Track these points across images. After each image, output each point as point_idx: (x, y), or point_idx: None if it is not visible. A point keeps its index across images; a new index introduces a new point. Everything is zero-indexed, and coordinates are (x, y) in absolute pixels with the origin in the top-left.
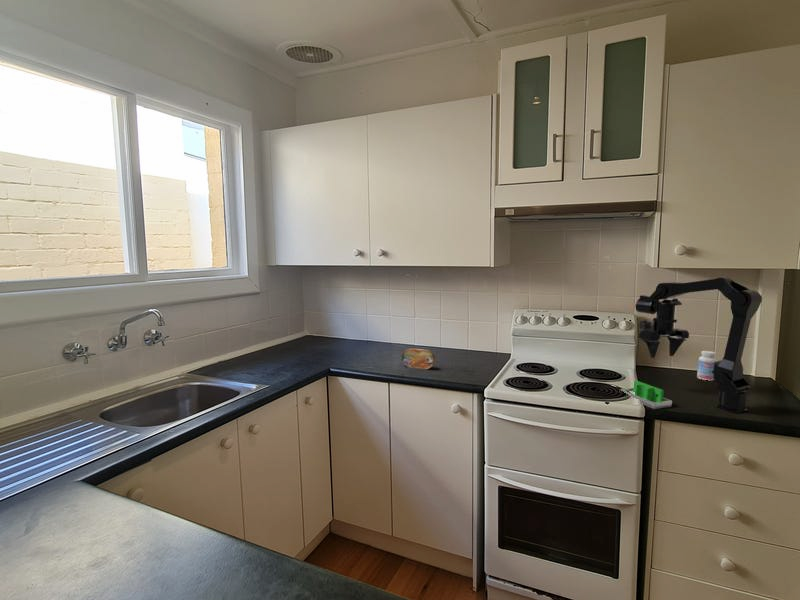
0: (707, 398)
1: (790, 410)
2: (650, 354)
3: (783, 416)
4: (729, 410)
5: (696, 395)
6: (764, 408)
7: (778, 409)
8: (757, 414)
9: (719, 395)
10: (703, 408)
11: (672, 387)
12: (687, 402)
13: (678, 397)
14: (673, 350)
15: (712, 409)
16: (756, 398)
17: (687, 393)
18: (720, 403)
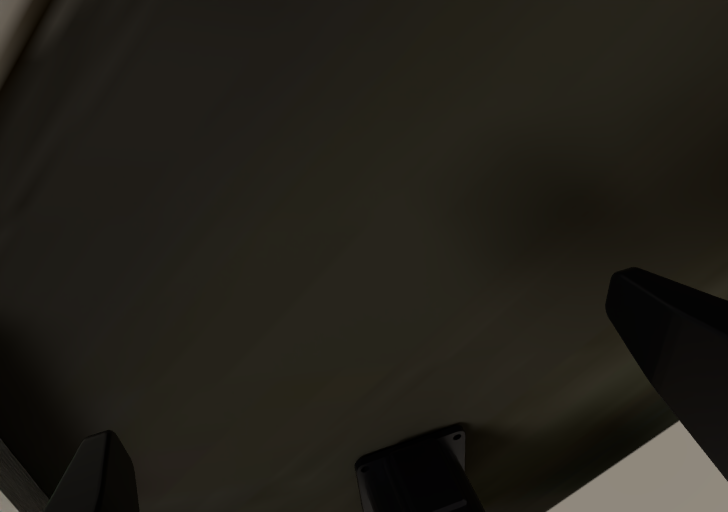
0: (442, 344)
1: (639, 442)
2: (53, 508)
3: (536, 501)
4: (363, 509)
5: (426, 296)
6: (569, 439)
7: (609, 440)
8: None
9: (408, 504)
10: (259, 489)
11: (412, 101)
12: (236, 422)
13: (248, 342)
14: (697, 411)
15: (300, 492)
16: None
17: (400, 258)
18: (387, 472)
